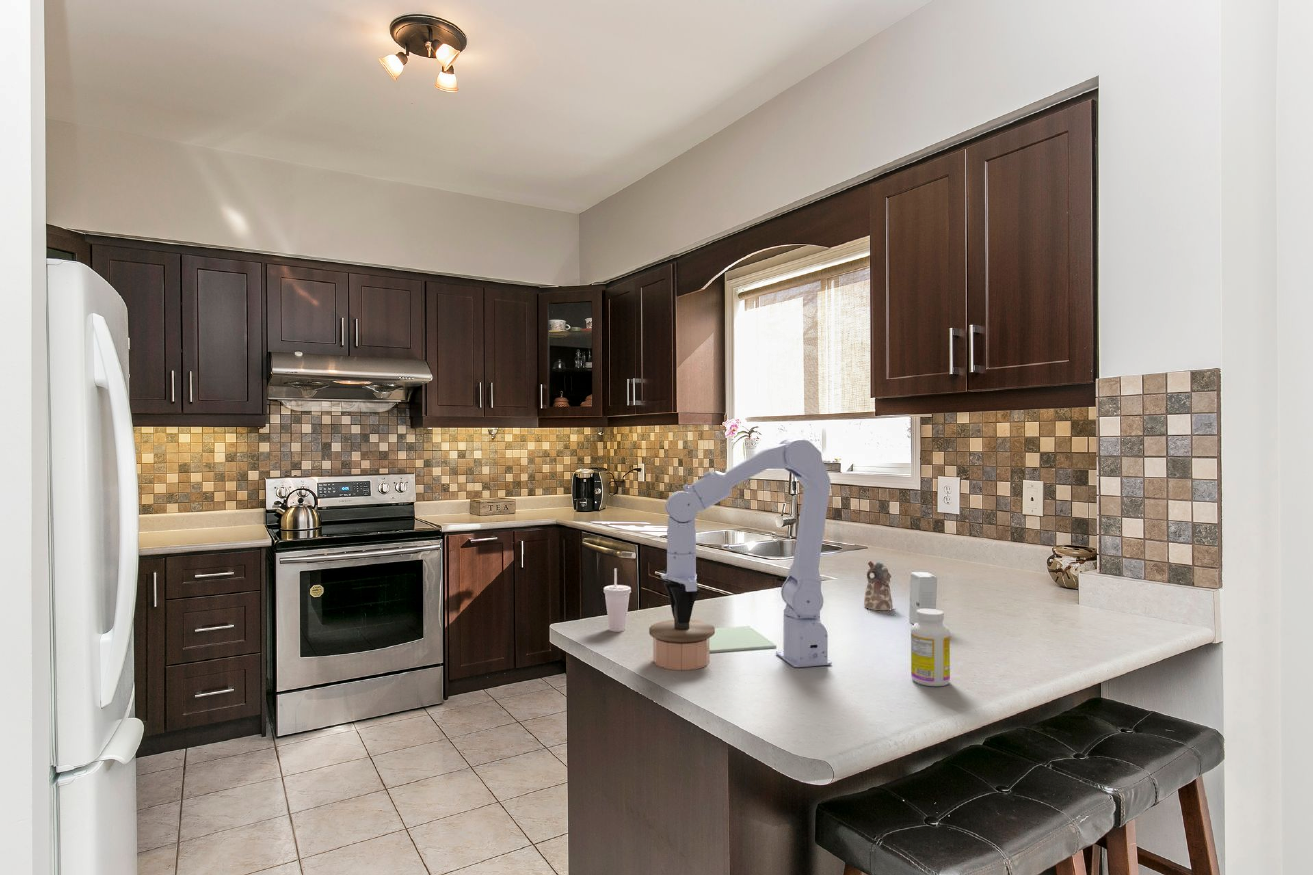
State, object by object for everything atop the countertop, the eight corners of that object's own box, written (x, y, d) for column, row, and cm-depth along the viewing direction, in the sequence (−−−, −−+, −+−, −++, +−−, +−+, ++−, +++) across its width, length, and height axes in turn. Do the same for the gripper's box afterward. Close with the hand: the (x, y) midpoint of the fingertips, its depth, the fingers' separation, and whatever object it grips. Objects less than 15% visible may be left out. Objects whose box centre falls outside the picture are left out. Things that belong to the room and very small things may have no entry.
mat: (776, 647, 154) (776, 645, 154) (704, 653, 150) (704, 650, 150) (749, 628, 169) (749, 625, 169) (682, 632, 165) (682, 630, 165)
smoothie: (616, 624, 172) (616, 565, 172) (636, 629, 168) (636, 568, 168) (597, 629, 167) (597, 569, 167) (618, 634, 163) (618, 572, 163)
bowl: (715, 667, 141) (715, 641, 141) (661, 671, 138) (661, 645, 138) (699, 651, 151) (699, 627, 151) (648, 654, 149) (648, 630, 148)
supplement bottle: (940, 675, 136) (940, 606, 136) (956, 687, 130) (956, 615, 130) (905, 675, 136) (905, 606, 136) (919, 687, 130) (919, 615, 130)
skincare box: (908, 621, 175) (908, 571, 175) (926, 621, 175) (926, 571, 175) (918, 628, 169) (918, 576, 169) (937, 628, 169) (937, 576, 169)
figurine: (886, 612, 184) (887, 565, 184) (859, 608, 189) (860, 562, 189) (896, 607, 190) (896, 561, 190) (870, 603, 194) (870, 558, 194)
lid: (725, 637, 140) (724, 610, 140) (661, 645, 136) (660, 616, 136) (700, 620, 153) (699, 595, 153) (641, 627, 149) (640, 601, 149)
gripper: (653, 547, 151) (653, 612, 151) (671, 558, 136) (671, 631, 137) (686, 545, 152) (686, 610, 152) (707, 557, 138) (707, 628, 138)
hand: (681, 620), depth 145 cm, fingers closed on lid, 3 cm apart
